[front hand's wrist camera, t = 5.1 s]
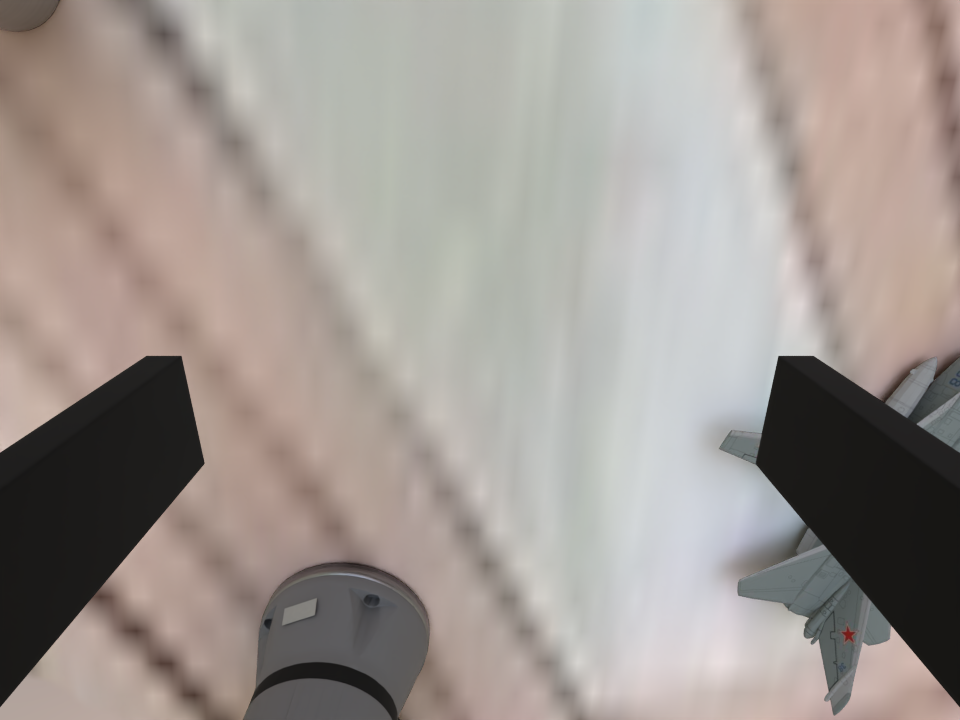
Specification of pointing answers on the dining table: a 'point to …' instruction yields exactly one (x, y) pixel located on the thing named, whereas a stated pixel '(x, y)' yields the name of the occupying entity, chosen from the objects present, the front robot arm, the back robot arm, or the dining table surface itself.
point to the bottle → (25, 13)
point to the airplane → (815, 572)
